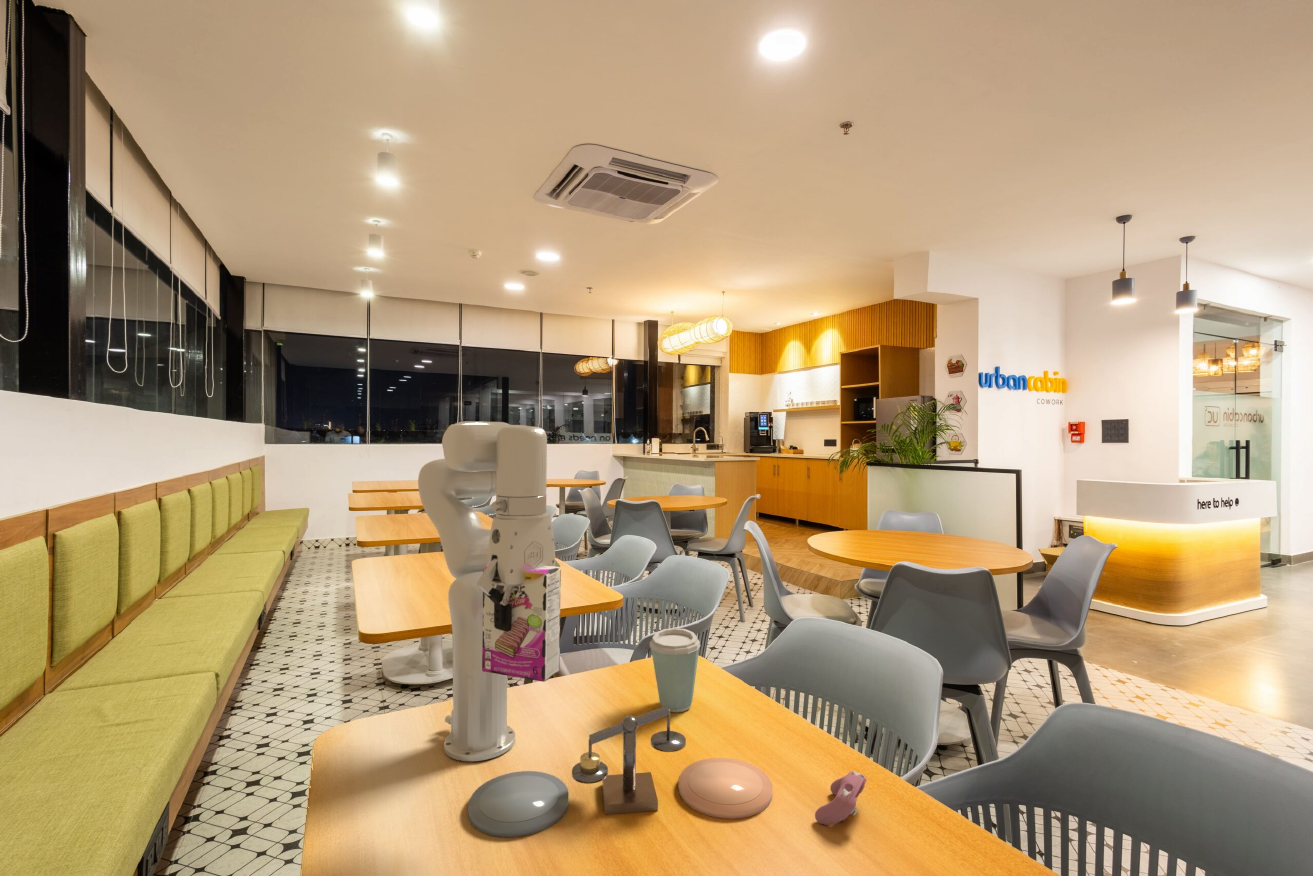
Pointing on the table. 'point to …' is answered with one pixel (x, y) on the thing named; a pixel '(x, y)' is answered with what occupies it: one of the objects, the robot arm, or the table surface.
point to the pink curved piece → (842, 799)
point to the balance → (627, 765)
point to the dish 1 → (518, 804)
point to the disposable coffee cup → (675, 667)
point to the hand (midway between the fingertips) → (520, 622)
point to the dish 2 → (725, 788)
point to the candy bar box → (526, 629)
